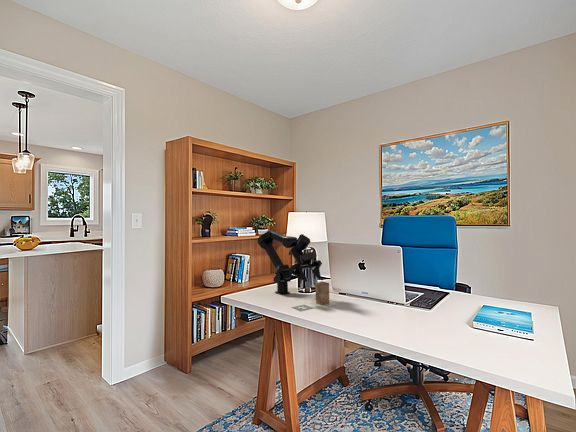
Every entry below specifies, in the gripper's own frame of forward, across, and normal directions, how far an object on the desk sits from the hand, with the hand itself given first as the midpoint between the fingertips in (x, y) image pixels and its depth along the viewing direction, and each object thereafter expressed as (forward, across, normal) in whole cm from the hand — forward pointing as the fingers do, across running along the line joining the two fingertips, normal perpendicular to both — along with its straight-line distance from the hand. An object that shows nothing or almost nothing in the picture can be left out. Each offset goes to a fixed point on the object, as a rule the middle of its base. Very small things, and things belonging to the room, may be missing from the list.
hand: (313, 280), depth 156 cm
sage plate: (+12, 0, +3) cm, 12 cm away
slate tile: (+11, -12, +4) cm, 17 cm away
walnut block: (+12, 0, +3) cm, 12 cm away
